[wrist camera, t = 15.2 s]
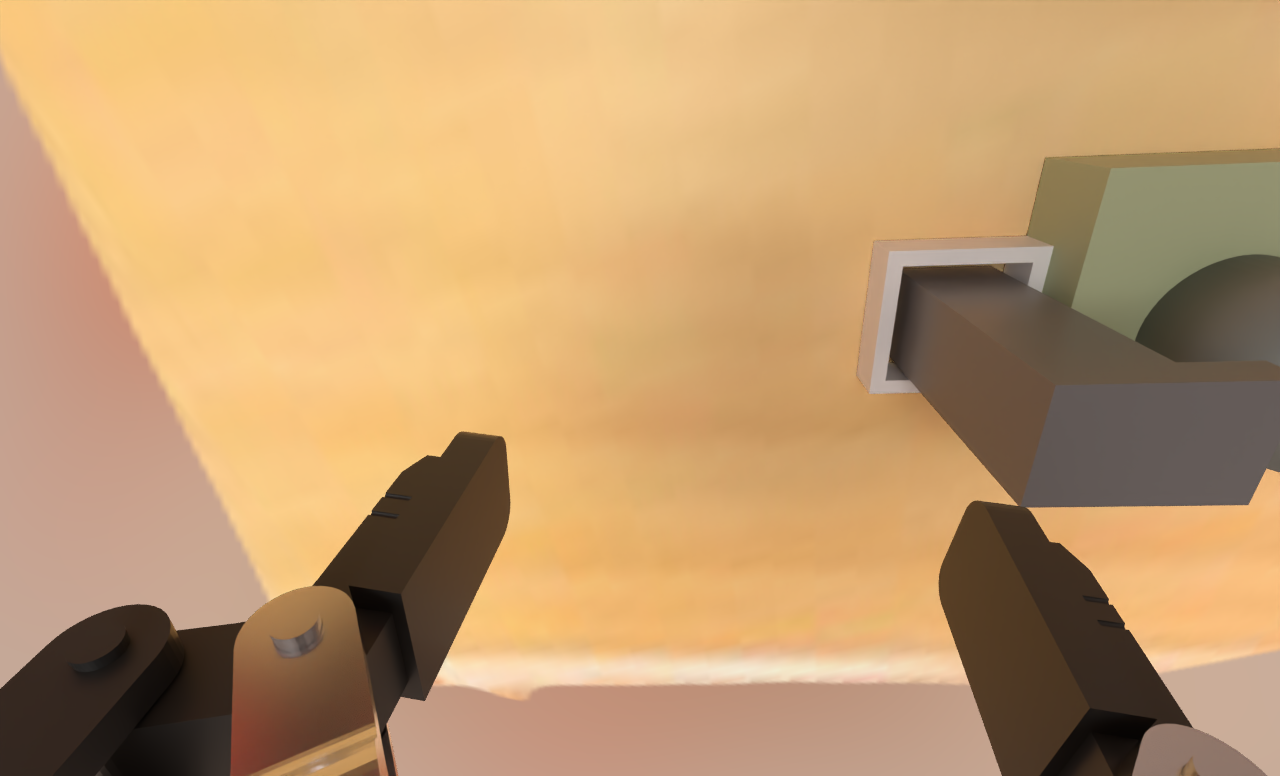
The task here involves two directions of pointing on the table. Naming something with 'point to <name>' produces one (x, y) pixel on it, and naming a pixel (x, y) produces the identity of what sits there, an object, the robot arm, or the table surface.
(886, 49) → the table surface
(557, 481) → the table surface
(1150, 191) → the green block with cylinder
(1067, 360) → the dark grey angled block
